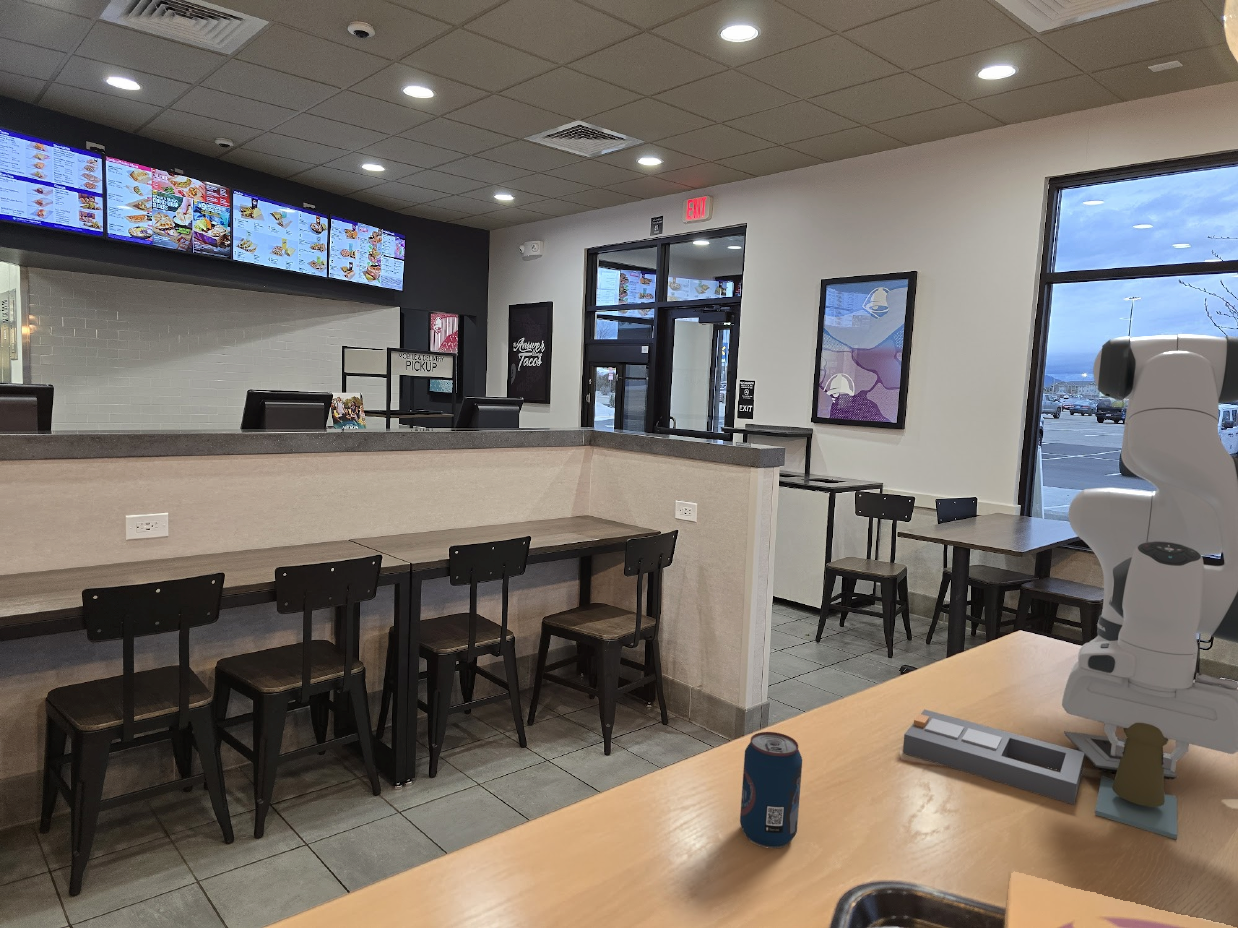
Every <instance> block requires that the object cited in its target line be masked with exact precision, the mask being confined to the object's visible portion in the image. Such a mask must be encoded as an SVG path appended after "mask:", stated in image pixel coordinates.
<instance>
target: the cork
mask: <svg viewBox="0 0 1238 928" xmlns="http://www.w3.org/2000/svg"><path fill="white" fill-rule="evenodd" d="M1122 728H1123V733H1124V735H1125V736H1126V738H1125V739H1126V742H1125V746H1124V752H1123V757H1122V758H1121V759H1120V763H1119V766H1118V769H1117V773H1116V775H1115V777H1114V779H1115V780H1114V783H1113V786H1112V789H1113V791H1114V792H1115V793H1116V794H1117V795H1118V796H1120V797H1122V798H1123V799H1126V800H1128V801H1130V802H1133V803H1136V804H1139V805H1144V806H1151V807H1158V806H1162V805H1164V802H1165V799H1164V793H1165V779H1164V769H1163V768H1162V764H1163V752H1164V748H1163V747H1164V746H1165V745H1167V743H1168V742H1169V739H1168V738H1165V737H1164V736H1163V734H1162V732H1161V731H1160V729H1159V728H1157V727H1155V726H1153V725H1150V724H1146V723H1134V724H1133V725H1131V726H1130V727H1129V728H1124V727H1122Z"/></svg>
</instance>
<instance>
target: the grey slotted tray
mask: <svg viewBox="0 0 1238 928" xmlns="http://www.w3.org/2000/svg"><path fill="white" fill-rule="evenodd" d="M902 744H903V745H902V753H903V754H906V755H908V756H912V757H916V758H919V759H921V760H924V761H925V760H926V761H928V762H932V763H934V764H939V765H942V766H945V767H948V768H952V769H955V770H958V771H962V772H965V773H969V774H970V775H971V774H972V775H974V776H978V777H980V778H981V777H982V778H984V779H988V780H991V781H995V782H997V783H1001V784H1004V785H1008V786H1011V787H1013V788H1018V789H1020V790H1024V791H1027V792H1030V793H1033V794H1034V793H1035V794H1038V795H1040V796H1044V797H1047V798H1051V799H1054V800H1057V801H1060V802H1064V803H1067V804H1070V805H1073V806H1074V805H1076V800H1077V795H1078V791H1079V787H1080V783H1081V778H1082V775H1081V774H1083V768H1084V760H1085V756H1084V753H1085V752H1081V751H1080V750H1077V749H1073V748H1070V747H1066V746H1063V745H1062V746H1061V745H1059V744H1055V743H1050V742H1047V741H1044V740H1041V739H1040V740H1039V739H1035V738H1031V737H1028V736H1025V735H1022V734H1021V735H1020V734H1018V733H1013V732H1010V731H1007V730H1003V729H999V728H996V727H992V726H989V725H988V726H987V725H983V724H979V723H976V722H972V721H968V720H967V719H966V720H965V719H961V718H958V717H955V716H952V715H951V716H950V715H947V714H943V713H939V712H936V711H931V710H928V709H923V711H922V712H921V713H917V715H916V717H915V718H914V720H913V722H912V724H911V725H910V726H909V728H908V729H907V730H906V731H905V733H904V736H903V743H902ZM1047 767H1049V768H1047ZM1050 768H1052V769H1050ZM1054 769H1057V770H1059V771H1057V770H1054Z"/></svg>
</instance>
